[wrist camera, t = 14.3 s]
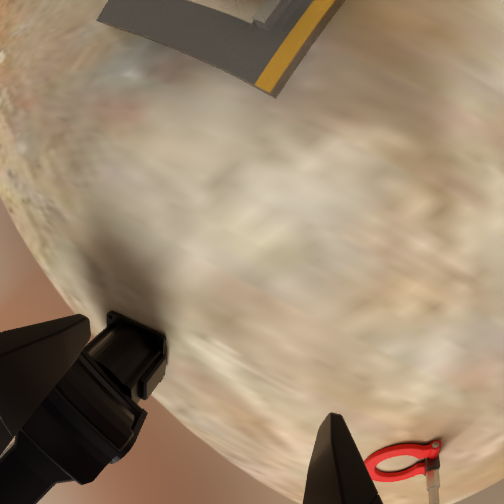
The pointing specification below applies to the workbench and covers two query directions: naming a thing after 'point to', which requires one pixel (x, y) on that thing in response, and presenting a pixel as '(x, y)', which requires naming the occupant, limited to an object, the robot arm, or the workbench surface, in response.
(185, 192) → the workbench surface
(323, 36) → the workbench surface
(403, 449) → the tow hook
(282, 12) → the dock plate
